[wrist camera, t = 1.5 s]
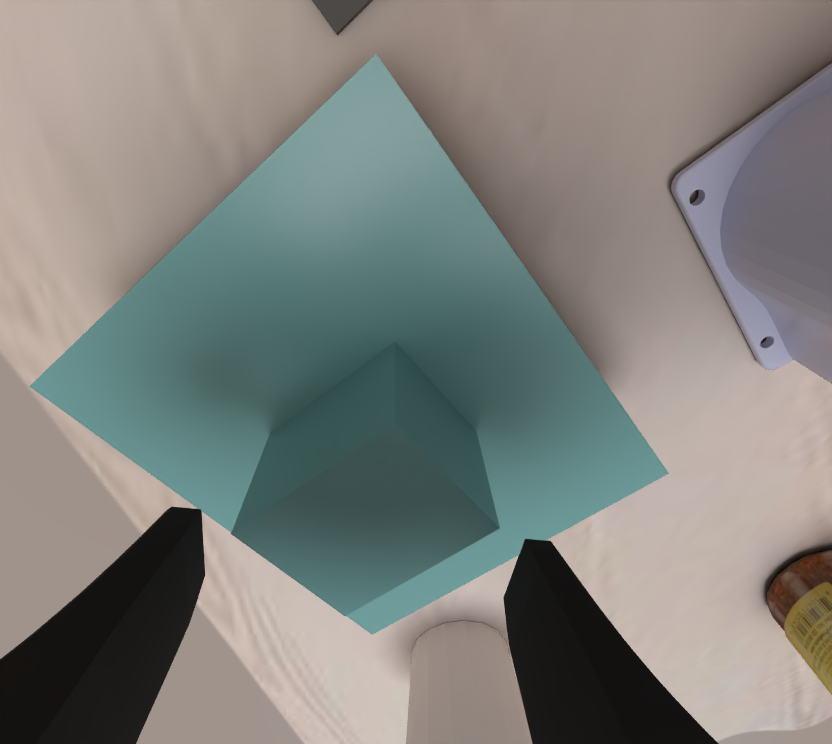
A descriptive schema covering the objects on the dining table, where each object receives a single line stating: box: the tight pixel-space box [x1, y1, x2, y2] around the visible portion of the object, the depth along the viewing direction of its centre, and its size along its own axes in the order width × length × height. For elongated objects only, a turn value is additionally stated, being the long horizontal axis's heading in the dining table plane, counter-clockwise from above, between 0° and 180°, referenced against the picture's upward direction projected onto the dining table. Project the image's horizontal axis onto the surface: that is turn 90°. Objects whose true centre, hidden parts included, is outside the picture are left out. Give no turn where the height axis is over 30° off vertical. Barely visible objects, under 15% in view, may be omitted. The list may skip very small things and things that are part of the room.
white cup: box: [406, 621, 532, 744], centre depth 26 cm, size 7×7×7 cm
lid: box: [30, 54, 669, 634], centre depth 14 cm, size 15×13×6 cm
